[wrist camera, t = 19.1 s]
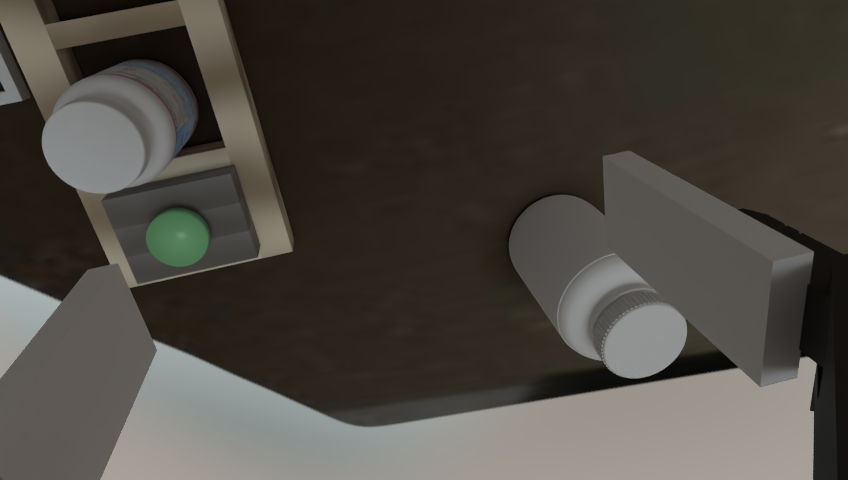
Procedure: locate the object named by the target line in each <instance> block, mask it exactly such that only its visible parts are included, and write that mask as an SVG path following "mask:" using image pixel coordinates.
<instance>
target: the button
mask: <svg viewBox="0 0 848 480" xmlns="http://www.w3.org/2000/svg"><path fill="white" fill-rule="evenodd" d="M209 242H210V230H209V227H208V225H207V223H206V221H205V220H204V219H203V218H202V217H201V216H200V215H198V214H197V213H195V212H194V211H191V210H189V209H185V208H170V209H167V210H164V211H162V212H161V213H159V214H158V215H157V216H156V217H155V218H154V220H153V221H152V223H151V224H150V225H149V227H148V229H147V232H146V243H147V246H148V249H149V251H150V252H151V253H152V255H153V256H154V257H155V258H156V259H158V260H159V261H161V262H162V263H165V264H167V265H170V266H175V267H184V266H189V265H192V264H194V263H196V262H197V261H199V260H200V259H201V258H202V257H203V256H204V254H205V252H206V250H207V248H208V245H209Z"/></svg>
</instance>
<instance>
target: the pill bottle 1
mask: <svg viewBox="0 0 848 480" xmlns="http://www.w3.org/2000/svg"><path fill="white" fill-rule="evenodd" d="M197 122H198V104H197V101H196V98H195V96H194V93H193V91H192V90H191V88H190V86H189V85H188V84H187V82H186V81H185V80H184V79H183V78H182V77H181V76H180V75H179V74H178V73H177V72H176V71H175V70H173V69H172V68H170V67H169V66H167V65H165V64H163V63H160V62H157V61H154V60H148V59H134V60H129V61H125V62H122V63H120V64H117V65H115V66H113V67H110V68H108V69H105V70H103V71H101V72H98V73H96V74H94V75H91V76H89V77H87V78H84V79H82V80H80V81H78V82H76V83H74V84H73V85H71V86H70V87H69V88H68V89H66V90H65V91H64V92H63V93H62V95H61V96H60V97H59V99H58V100H57V102H56V104H55V106H54V109H53V113H52V115H51V116H50V118H49V119H48V120H47V122H46V124H45V127H44V129H43V133H42V148H43V153H44V156H45V158H46V160H47V162H48V164H49V166H50V167H51V169H52V170H53V171H54V172H55V173H56V175H57V176H58V177H59V178H61V179H62V180H63V181H64V182H66V183H67V184H69V185H71V186H73V187H74V188H77V189H79V190H82V191H85V192H89V193H97V194H106V193H112V192H116V191H119V190H122V189H124V188H129V187H135V186H139V185H142V184H145V183H147V182H149V181H151V180H152V179H154V178H155V177H157V176H158V175H159V174H160V173H161V172H162V171H163V170H164V169H165V168H166V167H167V166H168V164H169V163H170V162H171V161H172V160H173V158H174V157H175V156H176V155H177V153H178V152H179V151H180V150H181V148H182V147H183V146H184V145H185V144H186V142H187V141H188V140H189V138H190V137H191V136H192V134H193V132H194V130H195V128H196V126H197Z"/></svg>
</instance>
